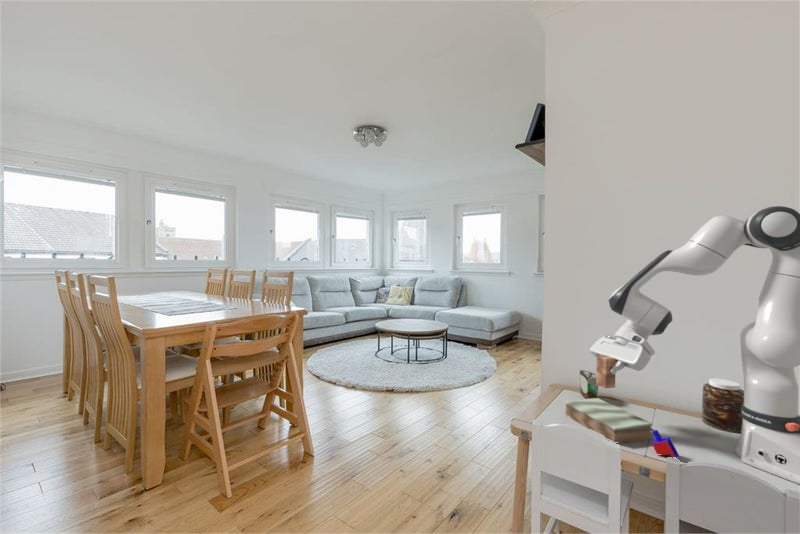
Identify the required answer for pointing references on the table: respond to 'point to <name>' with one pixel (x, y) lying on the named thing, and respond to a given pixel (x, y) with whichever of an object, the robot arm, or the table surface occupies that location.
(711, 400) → the jar
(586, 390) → the food container
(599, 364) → the tall block
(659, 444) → the toy building block
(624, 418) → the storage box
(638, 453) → the table surface
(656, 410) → the table surface
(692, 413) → the table surface
